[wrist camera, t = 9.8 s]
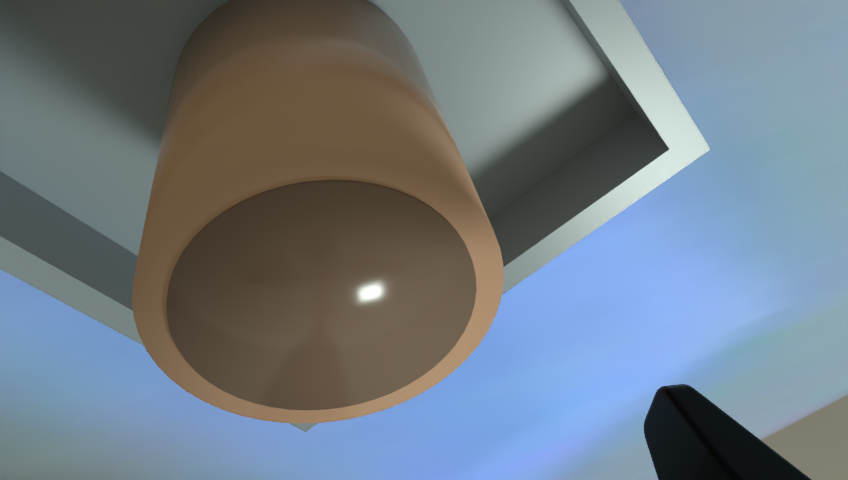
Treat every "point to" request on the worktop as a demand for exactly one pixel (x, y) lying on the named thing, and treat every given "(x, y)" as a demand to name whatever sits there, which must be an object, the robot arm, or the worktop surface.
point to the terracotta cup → (310, 219)
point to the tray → (447, 75)
